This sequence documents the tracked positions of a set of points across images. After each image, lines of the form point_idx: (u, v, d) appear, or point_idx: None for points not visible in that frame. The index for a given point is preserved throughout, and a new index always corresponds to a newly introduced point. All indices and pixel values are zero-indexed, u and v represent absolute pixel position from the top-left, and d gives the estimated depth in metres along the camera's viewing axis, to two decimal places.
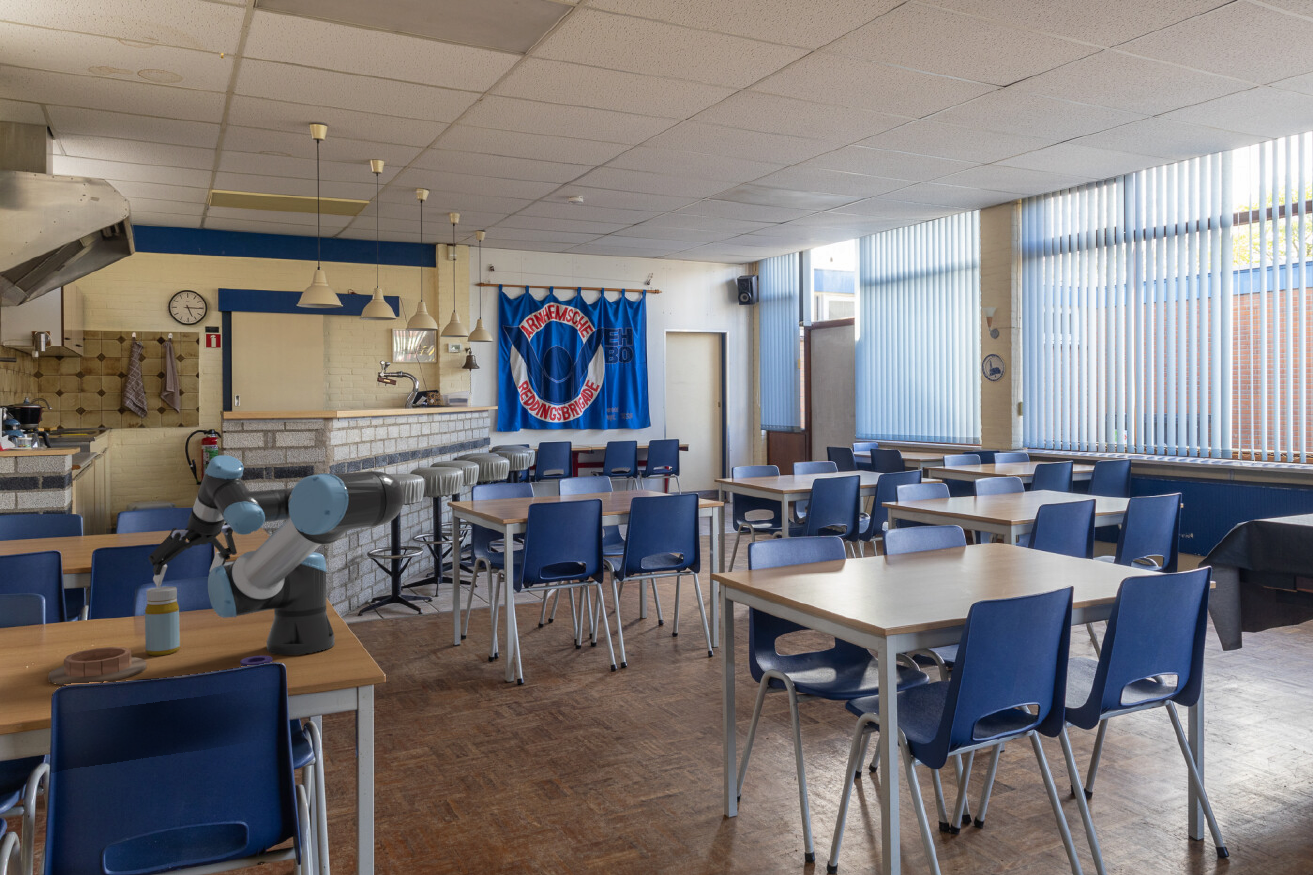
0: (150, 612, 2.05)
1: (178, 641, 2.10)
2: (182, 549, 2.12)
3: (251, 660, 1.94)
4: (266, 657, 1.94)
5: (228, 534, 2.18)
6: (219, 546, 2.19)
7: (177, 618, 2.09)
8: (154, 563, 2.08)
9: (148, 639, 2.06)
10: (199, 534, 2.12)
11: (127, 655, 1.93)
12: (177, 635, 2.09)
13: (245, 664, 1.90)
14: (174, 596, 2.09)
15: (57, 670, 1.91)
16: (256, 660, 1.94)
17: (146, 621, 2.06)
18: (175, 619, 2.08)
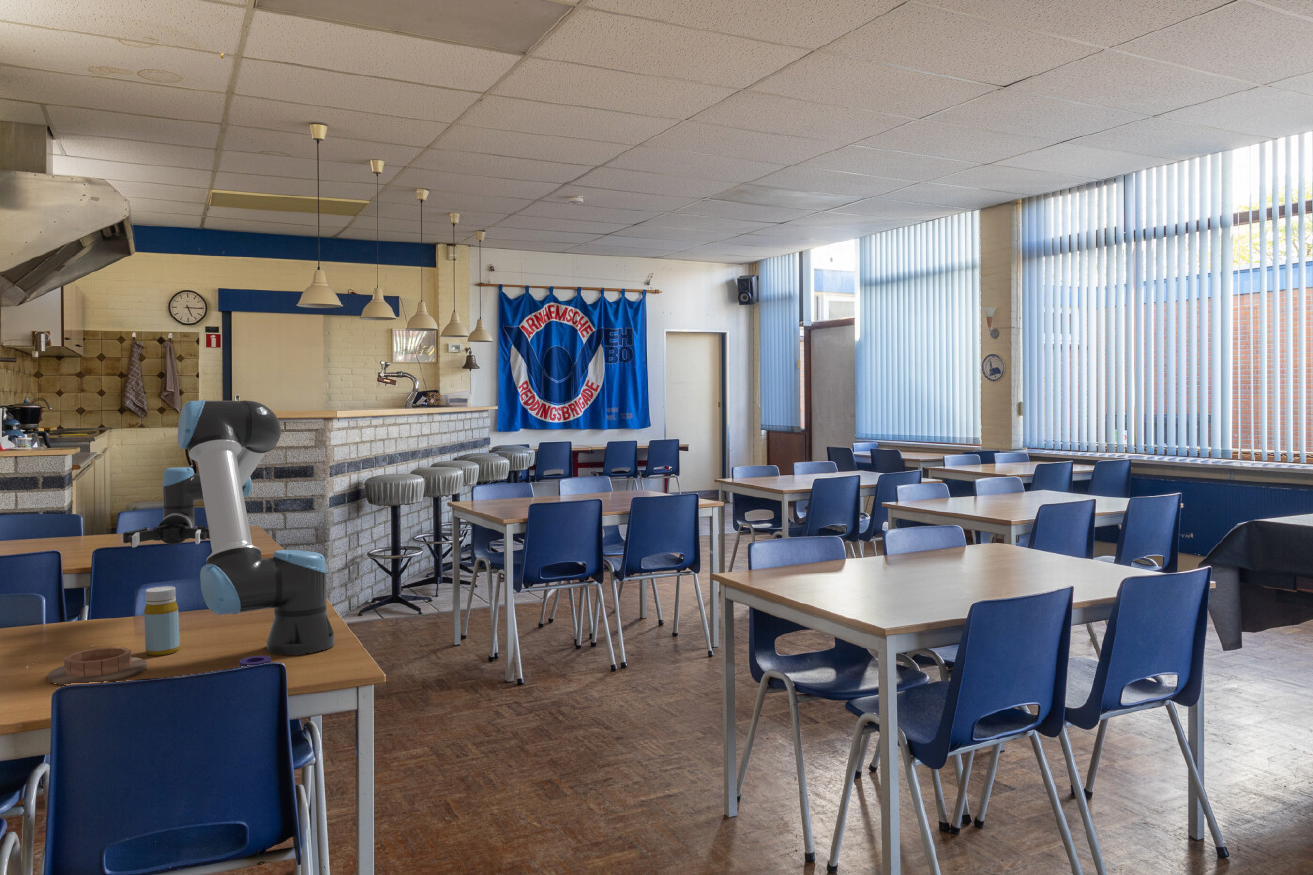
0: (149, 612, 2.05)
1: (178, 641, 2.10)
2: (152, 530, 2.26)
3: (250, 660, 1.94)
4: (265, 657, 1.94)
5: (198, 526, 2.33)
6: (192, 528, 2.29)
7: (176, 618, 2.09)
8: (125, 532, 2.21)
9: (148, 639, 2.06)
10: None
11: (127, 655, 1.93)
12: (177, 635, 2.09)
13: (244, 664, 1.90)
14: (173, 596, 2.08)
15: (57, 670, 1.91)
16: (255, 660, 1.94)
17: (145, 621, 2.06)
18: (174, 619, 2.08)
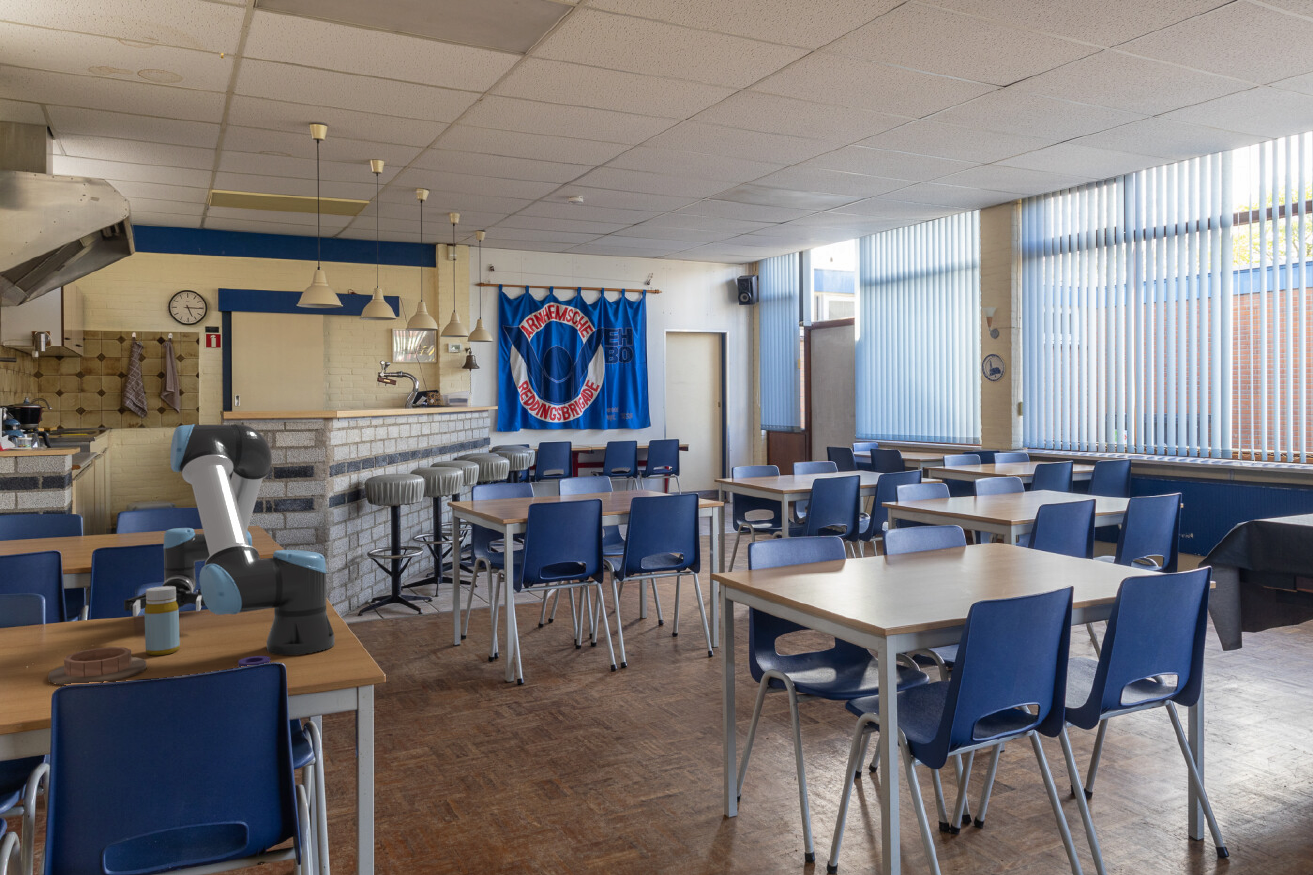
0: (150, 612, 2.06)
1: (178, 640, 2.10)
2: None
3: (249, 660, 1.94)
4: (264, 657, 1.94)
5: (199, 590, 2.33)
6: (193, 593, 2.29)
7: (177, 617, 2.09)
8: (126, 600, 2.21)
9: (148, 639, 2.06)
10: None
11: (127, 655, 1.93)
12: (177, 634, 2.09)
13: (243, 664, 1.90)
14: (173, 595, 2.09)
15: (57, 670, 1.91)
16: (254, 660, 1.94)
17: (146, 621, 2.06)
18: (175, 618, 2.08)
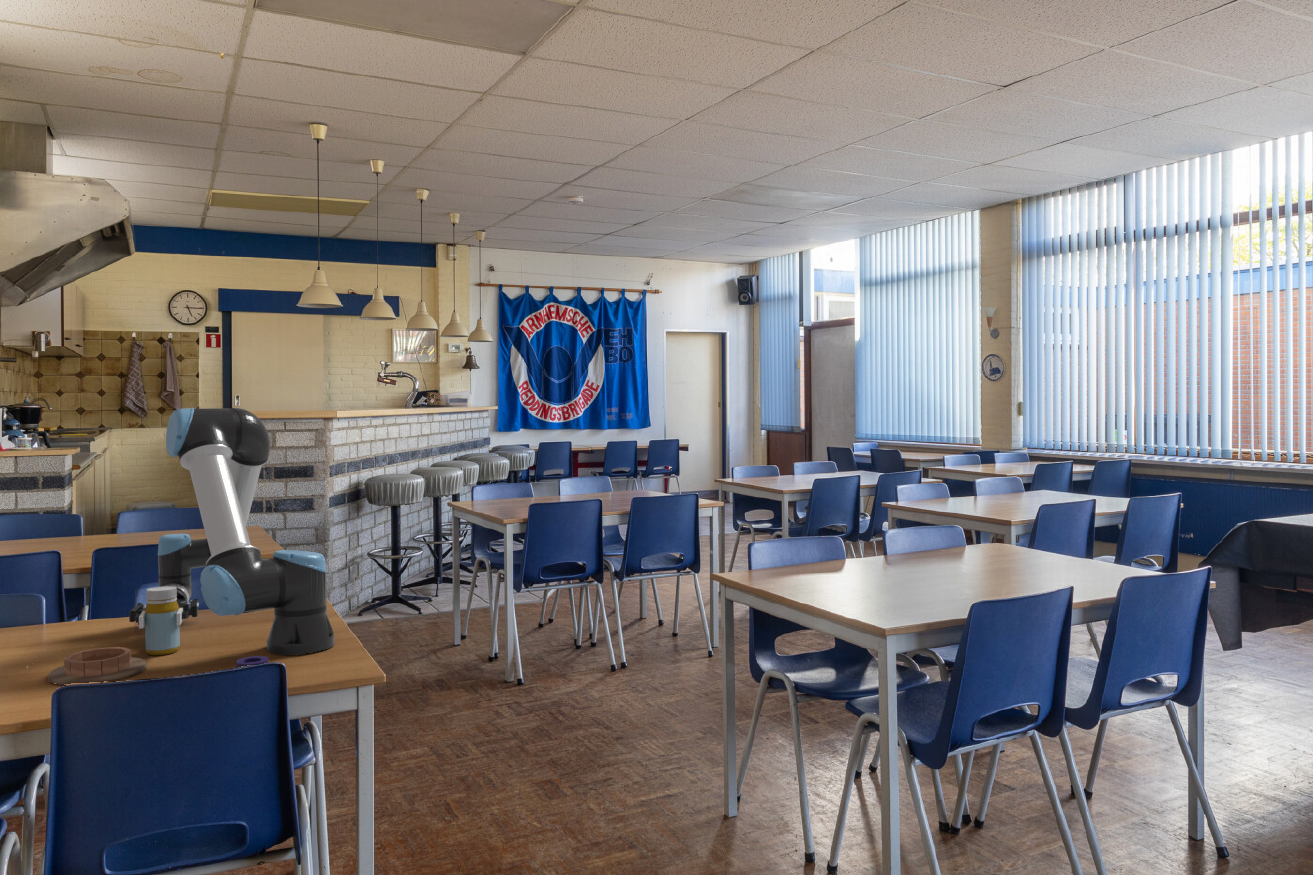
0: (151, 611, 2.06)
1: (178, 640, 2.10)
2: None
3: (247, 661, 1.93)
4: (262, 657, 1.94)
5: (192, 600, 2.21)
6: (181, 604, 2.16)
7: None
8: (131, 610, 2.09)
9: (149, 639, 2.06)
10: None
11: (127, 655, 1.93)
12: (177, 634, 2.09)
13: (242, 664, 1.90)
14: (174, 595, 2.09)
15: (57, 670, 1.91)
16: (252, 660, 1.94)
17: (146, 621, 2.06)
18: (175, 618, 2.09)
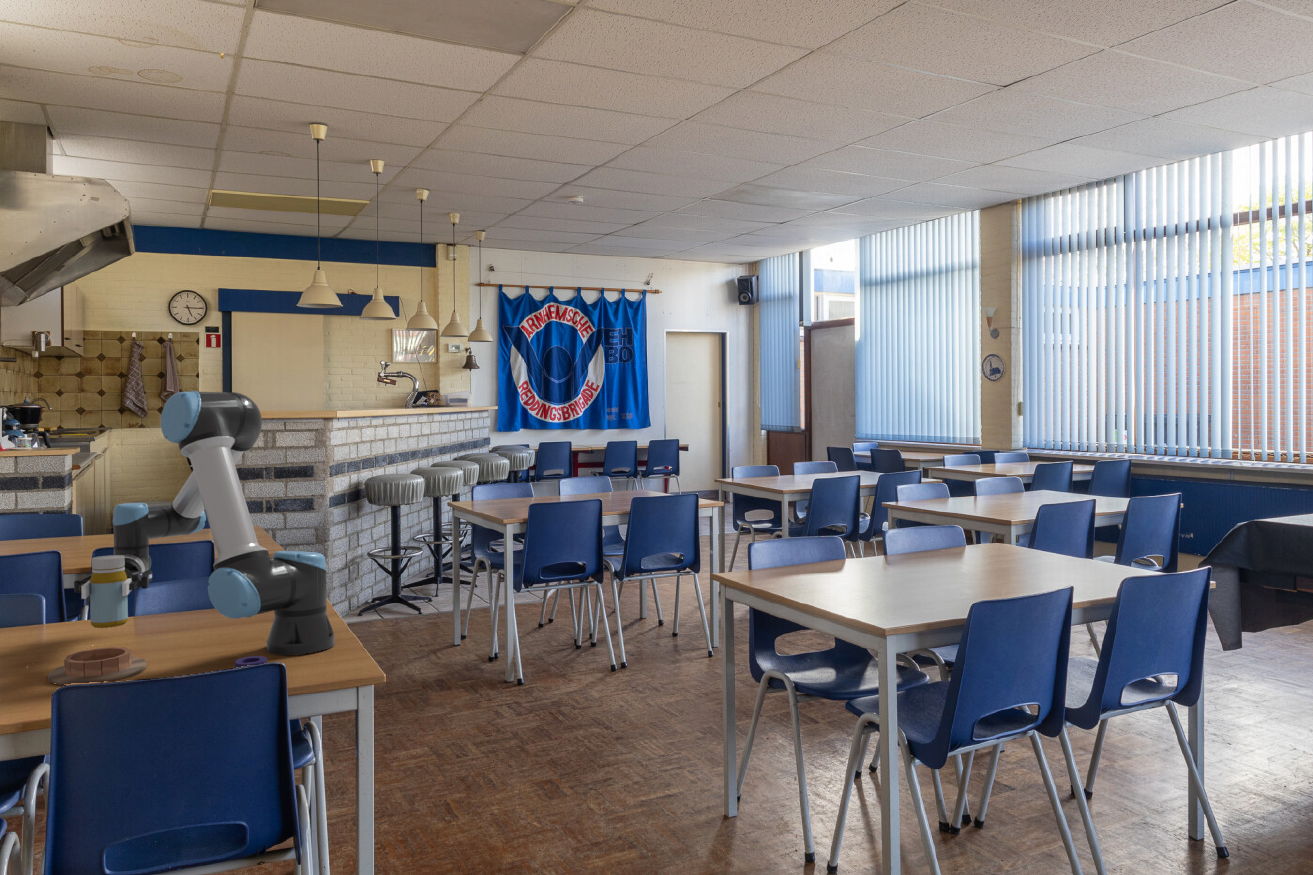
0: (95, 581, 1.93)
1: (126, 613, 1.97)
2: None
3: (245, 661, 1.93)
4: (260, 657, 1.94)
5: (145, 571, 2.08)
6: (131, 575, 2.04)
7: None
8: (76, 580, 1.96)
9: (93, 610, 1.93)
10: None
11: (127, 655, 1.93)
12: (125, 606, 1.97)
13: (240, 665, 1.89)
14: (122, 565, 1.96)
15: (57, 670, 1.91)
16: (250, 661, 1.94)
17: (91, 591, 1.94)
18: None
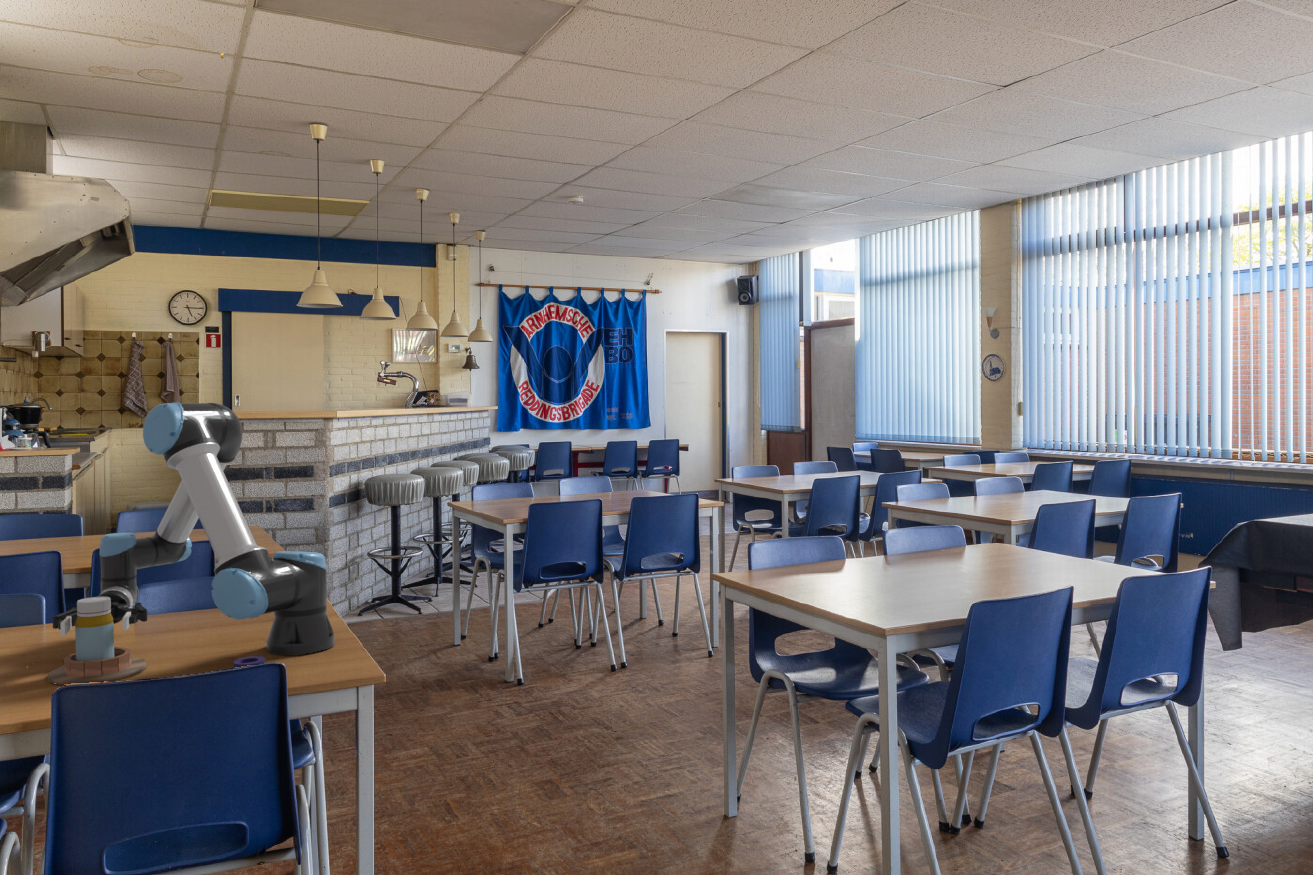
0: (81, 625, 1.89)
1: (113, 656, 1.93)
2: None
3: (243, 661, 1.93)
4: (259, 658, 1.94)
5: (136, 604, 2.05)
6: (125, 608, 2.01)
7: (111, 631, 1.93)
8: (55, 616, 1.93)
9: (79, 654, 1.89)
10: None
11: (127, 655, 1.93)
12: (111, 649, 1.93)
13: (239, 665, 1.89)
14: (108, 607, 1.92)
15: (57, 670, 1.91)
16: (248, 661, 1.94)
17: (76, 635, 1.89)
18: (109, 632, 1.92)
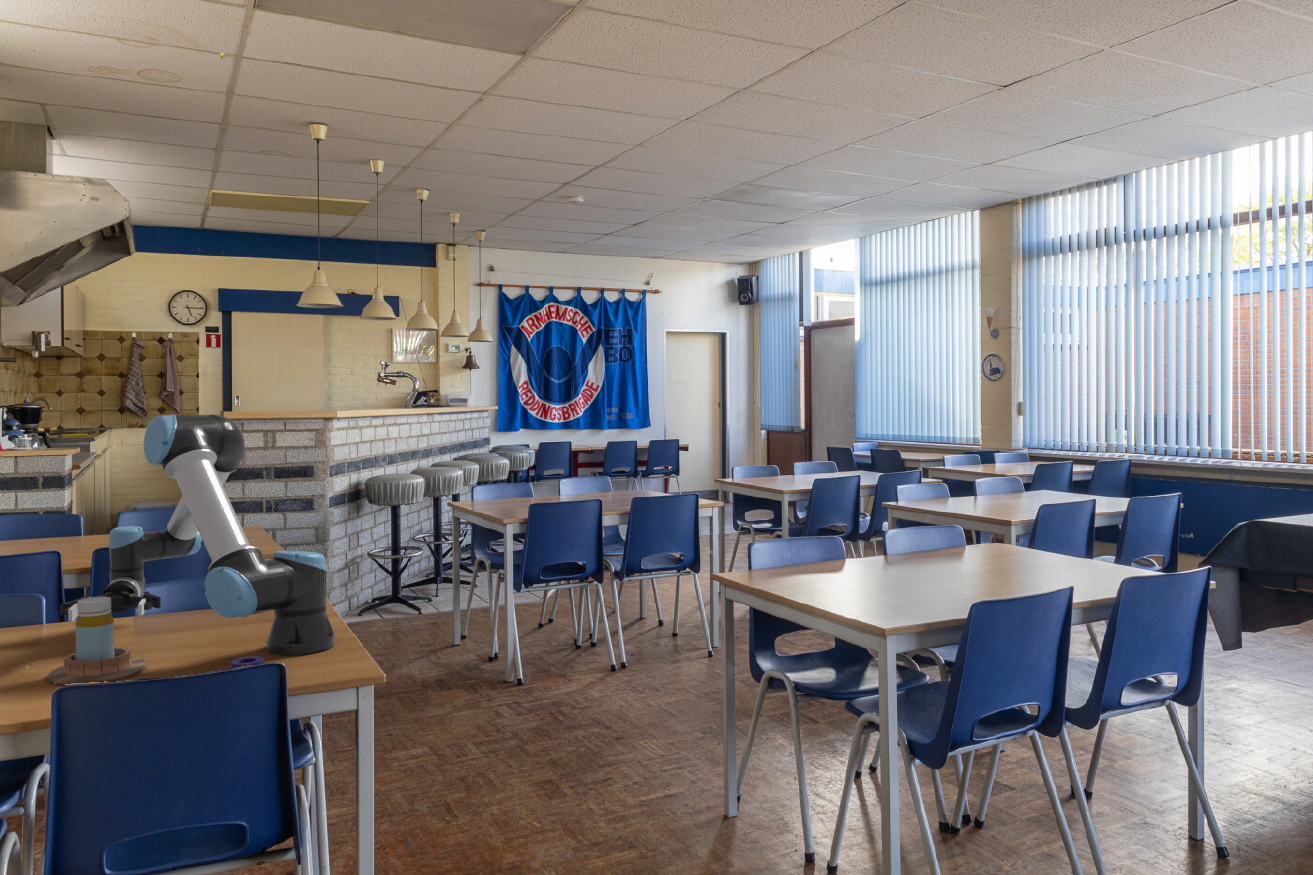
0: (81, 625, 1.89)
1: (113, 656, 1.93)
2: None
3: (241, 661, 1.93)
4: (257, 658, 1.94)
5: (144, 593, 2.17)
6: (137, 596, 2.13)
7: (111, 631, 1.93)
8: None
9: (79, 654, 1.89)
10: None
11: (127, 655, 1.93)
12: (112, 649, 1.93)
13: (238, 665, 1.89)
14: (108, 607, 1.92)
15: (57, 670, 1.91)
16: (246, 661, 1.94)
17: (77, 635, 1.90)
18: (109, 632, 1.92)
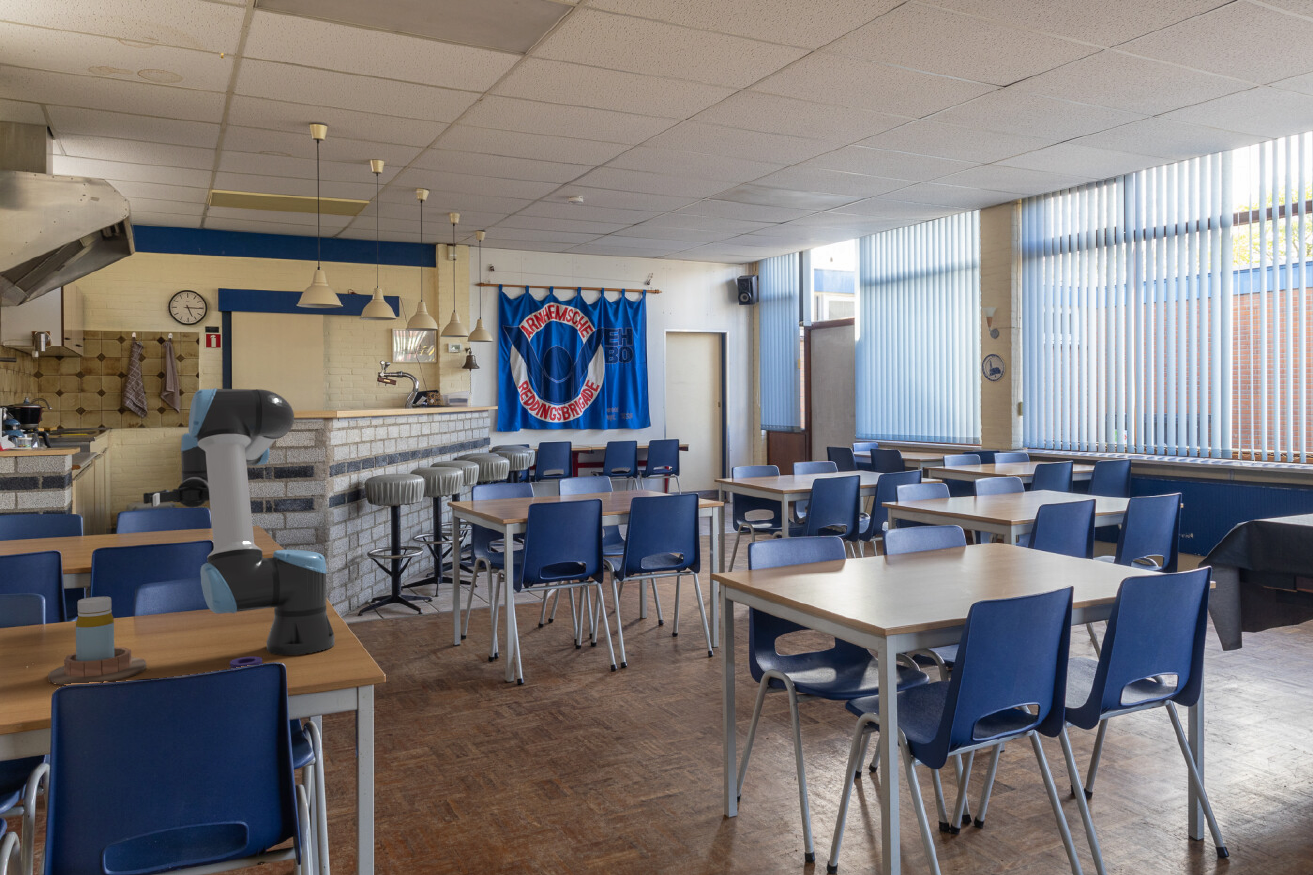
0: (81, 625, 1.89)
1: (113, 656, 1.93)
2: (172, 491, 2.27)
3: (240, 661, 1.93)
4: (255, 658, 1.94)
5: None
6: None
7: (112, 631, 1.93)
8: (145, 493, 2.21)
9: (79, 654, 1.89)
10: None
11: (127, 655, 1.93)
12: (112, 649, 1.93)
13: (236, 665, 1.89)
14: (108, 607, 1.92)
15: (57, 670, 1.91)
16: (244, 661, 1.94)
17: (77, 635, 1.90)
18: (109, 632, 1.92)
